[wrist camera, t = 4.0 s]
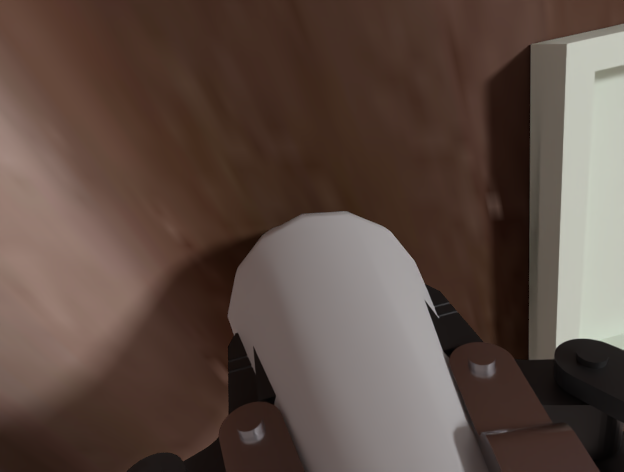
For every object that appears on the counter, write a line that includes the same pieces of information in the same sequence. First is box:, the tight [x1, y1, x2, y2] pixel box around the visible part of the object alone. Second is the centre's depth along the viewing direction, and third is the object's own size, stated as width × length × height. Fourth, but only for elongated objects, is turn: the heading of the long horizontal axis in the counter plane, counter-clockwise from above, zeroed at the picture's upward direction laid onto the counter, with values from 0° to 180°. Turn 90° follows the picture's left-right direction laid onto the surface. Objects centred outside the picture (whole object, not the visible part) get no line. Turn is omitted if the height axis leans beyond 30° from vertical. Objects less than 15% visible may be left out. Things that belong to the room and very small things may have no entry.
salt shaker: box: [228, 211, 489, 472], centre depth 10 cm, size 6×6×13 cm
